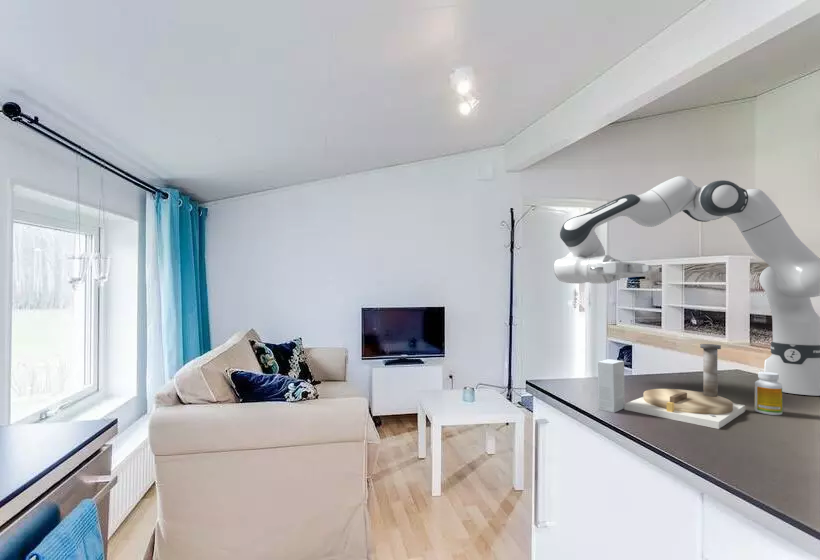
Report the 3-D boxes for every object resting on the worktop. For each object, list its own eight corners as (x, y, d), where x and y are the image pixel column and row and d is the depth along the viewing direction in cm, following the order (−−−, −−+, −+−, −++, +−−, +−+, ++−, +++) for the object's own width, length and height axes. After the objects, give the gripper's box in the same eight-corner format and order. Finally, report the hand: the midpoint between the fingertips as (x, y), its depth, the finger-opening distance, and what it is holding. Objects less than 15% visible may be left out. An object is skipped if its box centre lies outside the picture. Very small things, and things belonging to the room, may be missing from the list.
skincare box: (607, 405, 118) (608, 358, 118) (624, 408, 115) (624, 360, 115) (597, 409, 114) (597, 361, 114) (614, 413, 110) (614, 363, 111)
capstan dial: (705, 395, 123) (705, 342, 123) (752, 415, 104) (752, 352, 104) (631, 393, 124) (631, 340, 125) (664, 412, 105) (664, 350, 106)
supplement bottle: (787, 416, 109) (787, 375, 109) (762, 414, 110) (761, 374, 110) (774, 410, 115) (774, 371, 115) (750, 409, 116) (750, 370, 116)
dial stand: (658, 396, 128) (658, 383, 128) (745, 411, 113) (745, 397, 113) (624, 409, 114) (624, 395, 114) (718, 428, 99) (718, 412, 99)
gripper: (587, 257, 136) (635, 255, 126) (617, 260, 149) (663, 259, 139) (586, 278, 136) (635, 278, 125) (617, 280, 149) (663, 279, 139)
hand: (650, 268), depth 132 cm, fingers closed
